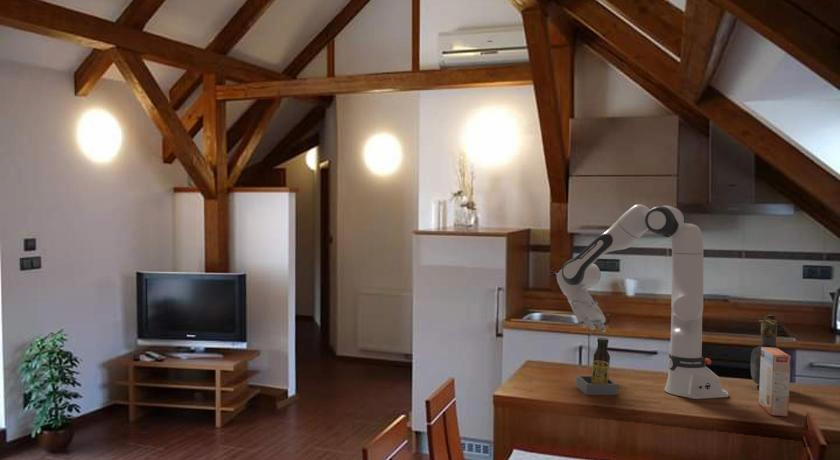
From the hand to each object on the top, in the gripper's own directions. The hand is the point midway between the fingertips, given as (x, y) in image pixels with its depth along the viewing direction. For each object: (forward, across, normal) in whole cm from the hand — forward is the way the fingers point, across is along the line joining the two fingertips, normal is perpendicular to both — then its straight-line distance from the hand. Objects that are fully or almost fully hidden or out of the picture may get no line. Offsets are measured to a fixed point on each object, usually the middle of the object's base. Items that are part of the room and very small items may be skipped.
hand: (598, 330), depth 272 cm
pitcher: (+45, +38, -32) cm, 67 cm away
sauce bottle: (+22, -9, +9) cm, 26 cm away
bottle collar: (+22, -10, +10) cm, 26 cm away
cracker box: (+56, +9, -35) cm, 67 cm away
